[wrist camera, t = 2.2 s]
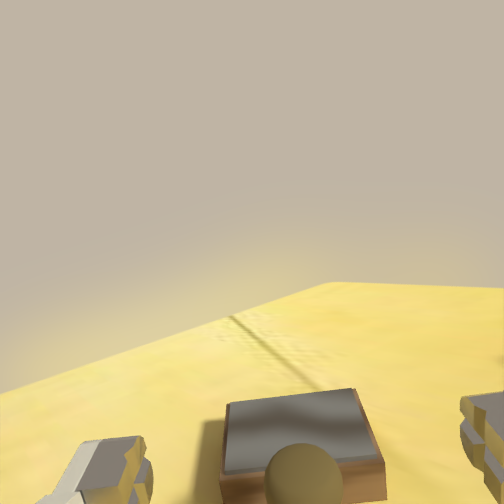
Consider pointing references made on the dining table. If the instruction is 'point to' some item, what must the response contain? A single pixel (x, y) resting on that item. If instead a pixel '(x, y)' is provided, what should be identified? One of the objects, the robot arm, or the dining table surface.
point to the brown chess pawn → (303, 476)
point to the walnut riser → (300, 431)
